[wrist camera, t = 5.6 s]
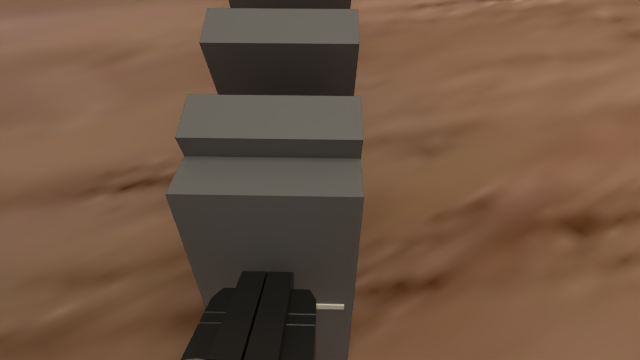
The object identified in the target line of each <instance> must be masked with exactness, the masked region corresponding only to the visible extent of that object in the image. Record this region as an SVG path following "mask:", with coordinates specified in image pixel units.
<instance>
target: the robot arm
mask: <svg viewBox="0 0 640 360" xmlns="http://www.w3.org/2000/svg"><path fill="white" fill-rule="evenodd" d="M316 303H317V300H316V299H315V297H314V295H313V294H312V292H311V290H310V289H294V273H293V272H273V271H269V272H267V271H243V272H242V273H241V276H240V278H239V280H238V283H237V285H236V288H222V289H221V290H220V291H219V292H218V293H217V294H215V295H214V296H213V297H212V298H211V299H210V301H209V304H208V306H207V308H206V310H205V313H204V314H203V316H202V318H201V320H200V324H198V326H197V328H196V330H195V332H194V334H193V336H192V338H191V340H190V342H189V344H188V346H187V348H186V350H185V352H184V354H183V356H182V358H181V360H315V357H316Z"/></svg>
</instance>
